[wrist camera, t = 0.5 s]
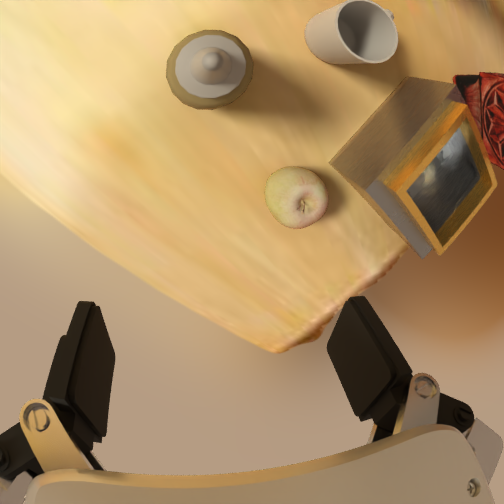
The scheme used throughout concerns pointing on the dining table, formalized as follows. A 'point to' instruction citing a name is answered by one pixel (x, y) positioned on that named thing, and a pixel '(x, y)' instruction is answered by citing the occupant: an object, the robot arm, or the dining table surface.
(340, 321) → the robot arm
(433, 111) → the box
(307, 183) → the fruit
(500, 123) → the vase
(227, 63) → the squeeze bottle
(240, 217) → the dining table surface
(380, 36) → the cup
